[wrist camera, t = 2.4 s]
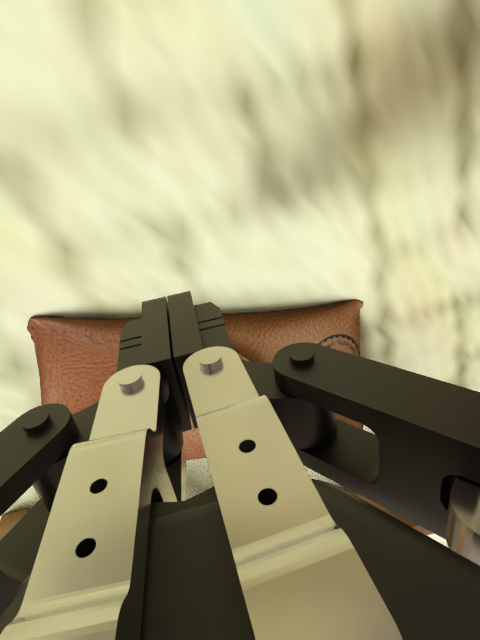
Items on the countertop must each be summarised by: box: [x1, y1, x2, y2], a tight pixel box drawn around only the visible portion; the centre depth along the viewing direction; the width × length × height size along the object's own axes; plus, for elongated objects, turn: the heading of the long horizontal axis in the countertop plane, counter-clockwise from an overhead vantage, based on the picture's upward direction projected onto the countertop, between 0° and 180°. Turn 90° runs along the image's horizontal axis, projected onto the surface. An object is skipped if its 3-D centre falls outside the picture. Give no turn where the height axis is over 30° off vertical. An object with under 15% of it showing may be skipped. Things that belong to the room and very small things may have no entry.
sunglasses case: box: [27, 300, 363, 460], centre depth 22 cm, size 18×7×7 cm
